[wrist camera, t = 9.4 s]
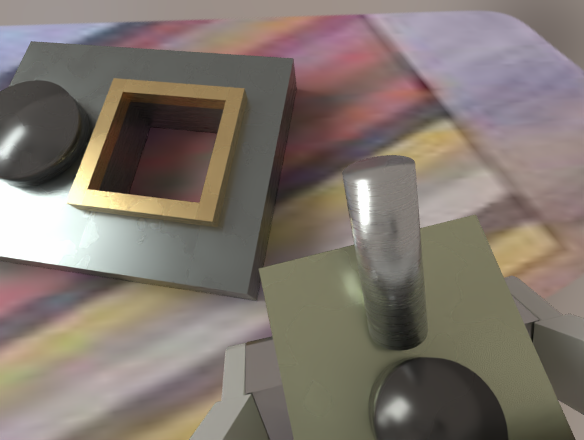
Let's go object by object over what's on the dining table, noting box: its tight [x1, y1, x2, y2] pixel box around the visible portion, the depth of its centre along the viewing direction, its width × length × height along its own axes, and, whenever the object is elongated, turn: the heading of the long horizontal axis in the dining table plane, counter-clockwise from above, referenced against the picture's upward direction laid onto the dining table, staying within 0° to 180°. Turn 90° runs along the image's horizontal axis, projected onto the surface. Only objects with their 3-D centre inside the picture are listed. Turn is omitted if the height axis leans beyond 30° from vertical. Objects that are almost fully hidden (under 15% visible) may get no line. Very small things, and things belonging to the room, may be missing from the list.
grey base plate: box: [0, 41, 297, 301], centre depth 25 cm, size 22×16×4 cm
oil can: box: [259, 155, 575, 440], centre depth 10 cm, size 4×5×12 cm
